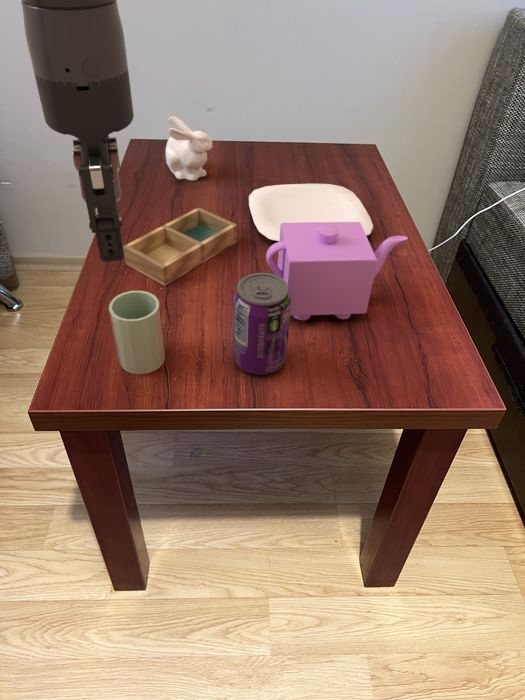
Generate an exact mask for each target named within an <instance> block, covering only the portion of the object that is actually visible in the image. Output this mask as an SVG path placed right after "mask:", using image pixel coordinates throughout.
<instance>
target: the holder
mask: <svg viewBox="0 0 525 700" xmlns="http://www.w3.org/2000/svg"><path fill="white" fill-rule="evenodd" d="M236 243H238V224H237V223H235V222H233V221H231V220H228V219H226V218H224V217H221V216H219V215H217V214H214V213H213V212H211V211H209V210H206V209H204V208H201V207H196V208H194V209H192V210H190V211H188V212H187V213H184V214H182V215H181V216H179V217H176V218H175V219H172V220H170V221H169V222H167V223H165V224H163V225H161V226H160V227H159V226H158V227H157V228H155V229H153V230H151V231H150V232H148V233H146V234H144V235H142V236H140V237H138V238H136V239H135V240H132V241H131V242H129V243H126V244H124V245H123V252H124V262H125V263H124V264H125V265H126V266H128V267H130V268H131V269H133V270H135V271H136V272H139V273H140V274H142V275H144V276H146V277H148V278H149V279H152V280H153V281H155V282H156V283H158V284H160V285H162V286H164V287H166V286H168V285H169V284H171V283H173V282H175V281H176V280H177V279H179V278H181V277H183V276H184V275H186V274H187V273H189V272H190V271H192V270H194V269H196V268H197V267H198V266H201V265H202V264H204V263H205V262H207V261H208V260H210V259H212V258H214V257H215V256H216V255H218V254H221V253H222V252H223V251H225V250H226V249H228V248H229V247H231V246H233V245H235V244H236Z"/></svg>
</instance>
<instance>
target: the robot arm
mask: <svg viewBox="0 0 525 700" xmlns="http://www.w3.org/2000/svg"><path fill="white" fill-rule="evenodd" d="M21 8H22V15H23V26H24V34H25V39H26V44H27V48H28V51H29V52H28V54H29V57H30V61H31V65H32V70H33V74H34V79H35V83H36V87H37V93H38V95H39V100H40V105H41V109H42V114H43V118H44V121H45V124H46V125H47V126H48V128H50V129H51V130H52V131H54V132H56V133H58V134H62V135H64V136H67V135H68V136H72V137H75V138H73V139H72V147H73V149H72V151H71V152H72V159H73V165H74V168H75V170H76V171H77V174H78V179H79V186H80V193H81V198H82V200H83V201H84V203H85V204H86V209H87V213H88V219H89V223H88V226H89V230H91V233H92V234H95V238H96V242H97V248H98V253H99V258H100V260H101V261H102V262H103V263H110V262H119V261H122V260H123V259H125V256H124V250H123V246H124V245H123V239H122V234H121V227H122V217H121V216H120V209H119V201H121V200H122V196H123V194H122V190H121V181H120V175H119V170H120V168H121V163H120V162H121V161H120V155H119V148H118V140H117V136H110V134H113V133H114V132H115V133H118V132H121V131H123V130H125V129H126V128H128V127H129V125H131V124H132V122H133V119H134V115H135V114H134V105H133V98H132V97H133V96H132V91H131V81H130V80H131V79H130V74H129V73H130V72H129V63H128V57H127V48H126V40H125V33H124V28H123V23H122V20H121V16H120V10H119V7H118V1H117V0H21Z"/></svg>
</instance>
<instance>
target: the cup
mask: <svg viewBox="0 0 525 700" xmlns="http://www.w3.org/2000/svg"><path fill="white" fill-rule="evenodd" d="M108 313H109V318H110V323H111V328H112V334H113V338H114V343H115V348H116V354H117V359H118V361H119V366H120V367H121V368H122V369H123V370H124V371H125V372H127V373H130V374H133V375H147V374H150V373H153V372H155V371H157V370H159V369H160V368H161V367H162V366H163V364H164V363H165V360H166V349H165V348H166V347H165V339H164V331H163V321H162V314H161V313H162V312H161V303H160V300H159V299H158V297H157V296H156V295H155V294H153V293H151V292H149V291H145V290H129V291H125V292H122V293H120V294H118V295H116V296H115V297H113V299H112V300H111V301H110V302H109V305H108Z"/></svg>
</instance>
